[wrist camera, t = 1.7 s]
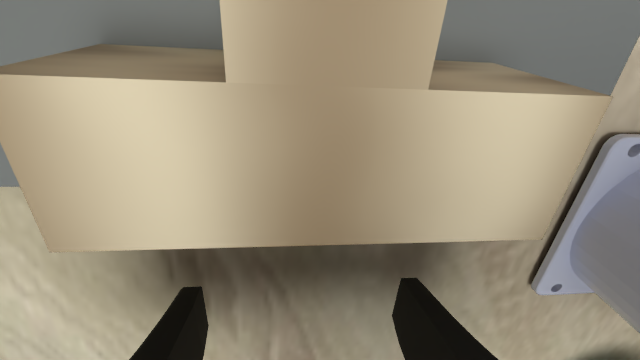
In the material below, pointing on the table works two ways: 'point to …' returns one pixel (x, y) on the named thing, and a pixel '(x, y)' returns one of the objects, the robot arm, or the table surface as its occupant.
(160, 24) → the mat
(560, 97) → the t block
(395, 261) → the table surface
